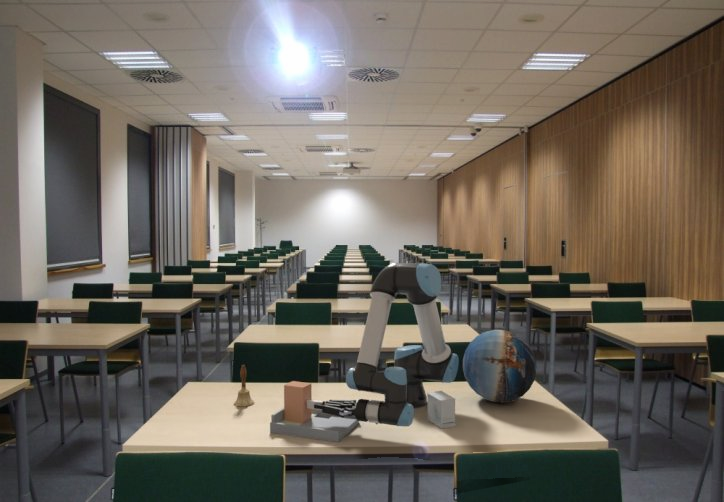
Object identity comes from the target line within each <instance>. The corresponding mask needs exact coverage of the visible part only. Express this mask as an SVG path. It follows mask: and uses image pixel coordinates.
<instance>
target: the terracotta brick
mask: <svg viewBox="0 0 724 502" xmlns="http://www.w3.org/2000/svg"><path fill="white" fill-rule="evenodd" d="M307 400H313V399H312V383H309V382H302V381H296V380H292V381H289V382H287V383H286V384H284V385H283V407H284V420H285V421H291V422H297V423H305V422H307V421H308V420H310V419H311V418H312V409H310V408H307Z"/></svg>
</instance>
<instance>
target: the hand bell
mask: <svg viewBox="0 0 724 502" xmlns="http://www.w3.org/2000/svg"><path fill="white" fill-rule="evenodd" d="M239 371H240V372H239V375H240V380H241V389H239V390H238V391H237V397H236V400H235V401H234V402H233V405H234V407H238V406H239V408H241V407H242V408H243V407H249V406H252V405H254V404H255V401H254V399H252V397H251V393H250V390H249V389H247V388H246V387H247V386H246V385H247V384H246V380H247V375H248V373H247V368H246V365H245V364H241V367H240V370H239Z"/></svg>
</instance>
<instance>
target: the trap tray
mask: <svg viewBox="0 0 724 502" xmlns="http://www.w3.org/2000/svg"><path fill="white" fill-rule="evenodd" d="M270 416H271V419H270V420H271V422H270V423H269V433H271V434H278V435H285V436H294V437H298V438H299V437H300V438H306V439H314V440H320V441H327V442H328V441H329V442H335V443H339V442H340V441H341V440H342V439H343V438H344V437H346V436H347V435H348V434H349V433H350V432H351V431H352V430H353V429H354V428H355V427H356V426H357V425H358V424H360V421H358V420H357V419H356V417H355V415H352V416H347V415H345V417H344V418H342V417H339V416H336V415H331V414H327V413H323V412H322V410H319V409H312V418H311V419H310V420H308V421H307V422H305V423H297V422H291V421H285V420H284V406H283V407H282V408H280V409H278V410H277V411H275V412H274V413H272V414H271V415H270Z"/></svg>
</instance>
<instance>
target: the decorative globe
mask: <svg viewBox="0 0 724 502" xmlns="http://www.w3.org/2000/svg"><path fill="white" fill-rule="evenodd" d="M467 345H468V346H467V347H466V349H465V351H464V354H463V358H462V371H463V374H464V379H465V381H466V382H467V384H468V386H469V388H471V389H472V390H473V391H474V392H475V393H476V394H477V395H478V396H479V397H482V398H483V399H484V400H487V401H490V402H493V403H504V404H505V403H509V402H513V401H516V400H518V399H519V398H522V397H524V396H525V395H526V394H527V393H528V392H529V390H530V389H531V388H532V385H533V383H534V382H535V380H536V375H537V360H536V358H535V353H534V352H533V350H532V348H531V347H530V345H529V344H528V343H527V342H526V341H525V340H524V339H523V338H522V337H521V336H519V335H517V334H516V333H514V332H512V331H508V330H506V329H491V330H488V331H484V332H482V333H480V334H478V335H477V336H476V337H474V339H472V340H471V341H470V342H469V344H467Z"/></svg>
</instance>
